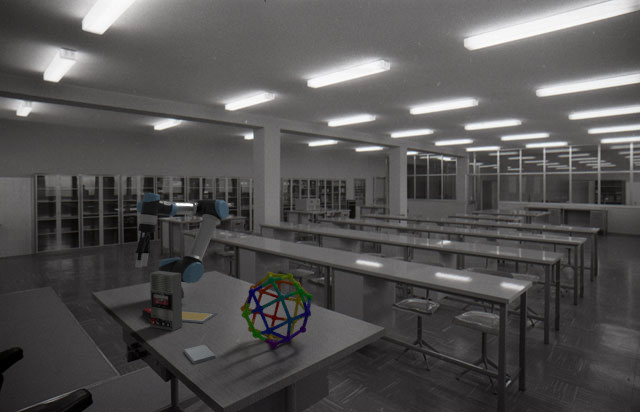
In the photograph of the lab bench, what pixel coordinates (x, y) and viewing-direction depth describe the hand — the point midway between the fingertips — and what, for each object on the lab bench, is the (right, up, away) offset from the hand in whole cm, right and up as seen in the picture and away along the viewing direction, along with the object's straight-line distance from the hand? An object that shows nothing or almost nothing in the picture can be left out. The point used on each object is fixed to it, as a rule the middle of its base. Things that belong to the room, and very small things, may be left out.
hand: (140, 266), depth 180 cm
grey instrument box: (+17, -26, -11) cm, 33 cm away
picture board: (+24, -25, +2) cm, 35 cm away
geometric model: (+70, -27, -29) cm, 81 cm away
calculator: (+7, -26, +3) cm, 27 cm away
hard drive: (+42, -28, -40) cm, 64 cm away
